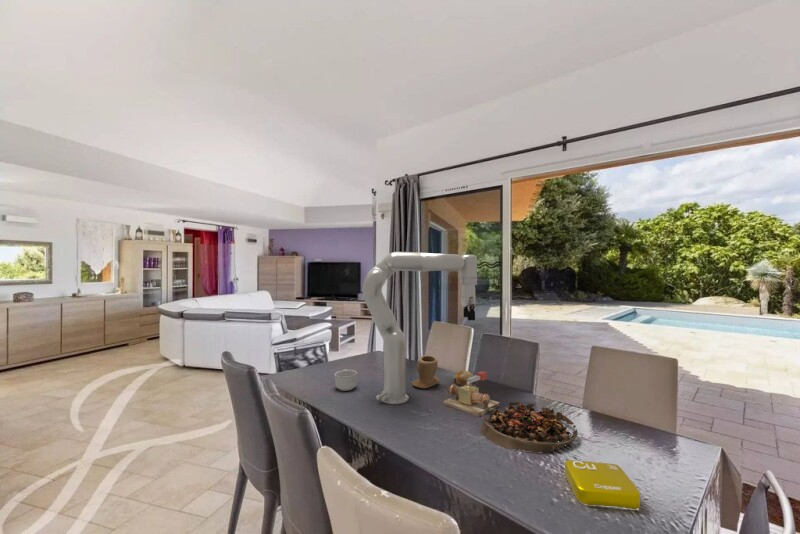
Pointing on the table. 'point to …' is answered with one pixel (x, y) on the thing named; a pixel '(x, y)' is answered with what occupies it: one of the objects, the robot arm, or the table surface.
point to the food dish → (527, 428)
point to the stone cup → (426, 372)
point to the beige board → (467, 408)
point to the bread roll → (463, 377)
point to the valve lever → (477, 377)
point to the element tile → (601, 484)
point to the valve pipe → (469, 395)
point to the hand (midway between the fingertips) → (469, 318)
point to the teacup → (346, 379)
